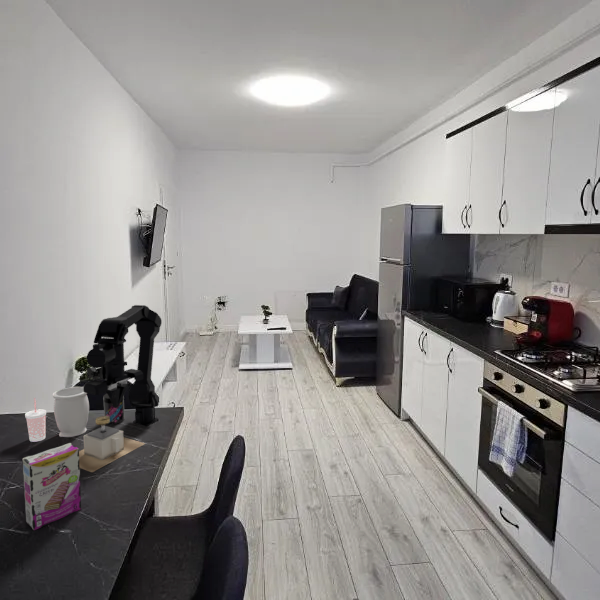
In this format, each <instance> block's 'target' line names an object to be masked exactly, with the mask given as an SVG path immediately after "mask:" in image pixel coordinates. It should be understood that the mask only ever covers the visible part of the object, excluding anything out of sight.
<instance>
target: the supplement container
mask: <svg viewBox="0 0 600 600" xmlns="http://www.w3.org/2000/svg"><path fill="white" fill-rule="evenodd" d="M124 396H125V395H124ZM124 396H123V398H122V400H121V402H120V404H119V406H118V408H114V407H113V405H112V402H111V400H110V398H109V396H108V394H107V393H104V394H103V398H102V399H103V412H104V415H103V416H109V417H110V422H109V423H108V424H107V425H117V424H121V423H123V422H124V421H125V400H124V399H125V397H124Z"/></svg>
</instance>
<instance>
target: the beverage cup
mask: <svg viewBox="0 0 600 600" xmlns="http://www.w3.org/2000/svg"><path fill="white" fill-rule="evenodd" d="M33 405H34V407H33V408H34V409H32V410H30V411H26V412H25V414H24V416H25V419H26V424H27V431H28V438H29V441H30V442H31V443H32V442H34V443H35V442H41V441H43V440H45V439H46V428H47V427H46V416H47V410H46V409H43V408H41V409H39V408H38V409H37V401H36V397H33Z"/></svg>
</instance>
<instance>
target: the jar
mask: <svg viewBox="0 0 600 600" xmlns="http://www.w3.org/2000/svg"><path fill="white" fill-rule="evenodd" d="M87 394H88V393H85V392H84V386H71V387H64V388H60V389H59V390H56V391H54V392H53V393H52V397H53V399H54V403H53V413H54V415H53V416H54V419H55V423H56V426H57V429H58V430H59V431H60V432H59V433H58V434H59V435H58V436H59V437H60V438H61V437H64V438H71V437H77V436H80V435H82V434H85V433H86V431H87V430H88V429H87V424H88V421H89V413H90V402H89V398H88V395H87Z"/></svg>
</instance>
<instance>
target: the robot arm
mask: <svg viewBox="0 0 600 600" xmlns="http://www.w3.org/2000/svg"><path fill="white" fill-rule="evenodd" d="M133 325H135V326H136V327H135V329H136V330H135V331H136V333H137V335H138V336H139V347H138V360H137V368H136V369H135V368H130V369H126V370H125V366H128V362H127V361H125V350H124V347H125V346H124V345H125V344H124V343H126V342H127V339H126V338H125V337H126V336H127V334H128V333H129V328H130V327H132V326H133ZM161 326H162V318H161V316H160V315H159V314H158V313H157V312H156V311H153V309H152V310H151V309H150V308H149V306H148V305H140V304H134V305H132V306H131V308H129V309H127V310H126V311H124V312H123V313H121V314H119V315H118V316H115V317H107V318H104V319H102V320H101V321H100V323H99V325H98V327H97V330H96V334H95V336H94V340H93V344H92V348H91V349H90V350H89V351H88V353H87V355H86V361H87V364H88V365H89V366H90V367H88V368H86V376H87V378H88V379H91V378H92V381H88V382H85V384H84V385H83V387H84V392H85V393H87V394H90V395H93V396H94V395H95V396H99V395H102V394H108V396H109V398H110V400H111V402H112V405H113V407H114V408H118V406H119V404H120V402H121V400H122V398H123V396H125V394H126V393H127V392H126V391H127V390H128V389H129V394H128V400H129V403H130V407H131V408H135V411H134V417H135V418H134V420H132V423H133V424H138V425H140V426H144V427H147V426H149V425H151V424H153V423H155V422H157V421H159V418H158V417H156V407H159V404H160V396H159V395H158V394H157V392H156V390H155V389H156V388H155V387H156V386H155V383H154V382H153V381H152V369H153V368H152V367H153V357H154V347H155V345H154V344H155V338H156V337H157V336H158V334H159V333H160V329H161ZM97 379H100V380H97ZM131 379H134V382H133V383H128V380H131ZM156 420H157V421H156Z"/></svg>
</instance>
